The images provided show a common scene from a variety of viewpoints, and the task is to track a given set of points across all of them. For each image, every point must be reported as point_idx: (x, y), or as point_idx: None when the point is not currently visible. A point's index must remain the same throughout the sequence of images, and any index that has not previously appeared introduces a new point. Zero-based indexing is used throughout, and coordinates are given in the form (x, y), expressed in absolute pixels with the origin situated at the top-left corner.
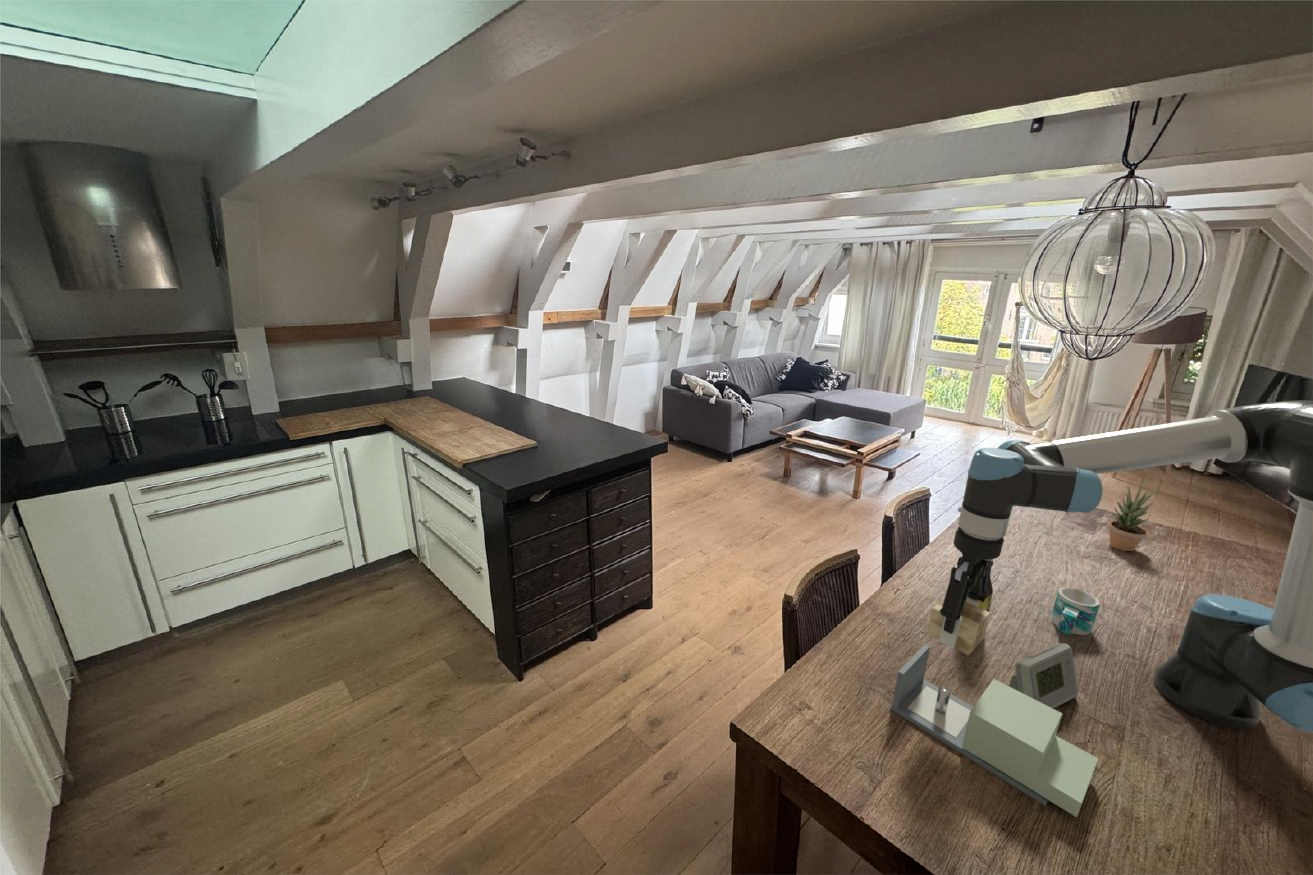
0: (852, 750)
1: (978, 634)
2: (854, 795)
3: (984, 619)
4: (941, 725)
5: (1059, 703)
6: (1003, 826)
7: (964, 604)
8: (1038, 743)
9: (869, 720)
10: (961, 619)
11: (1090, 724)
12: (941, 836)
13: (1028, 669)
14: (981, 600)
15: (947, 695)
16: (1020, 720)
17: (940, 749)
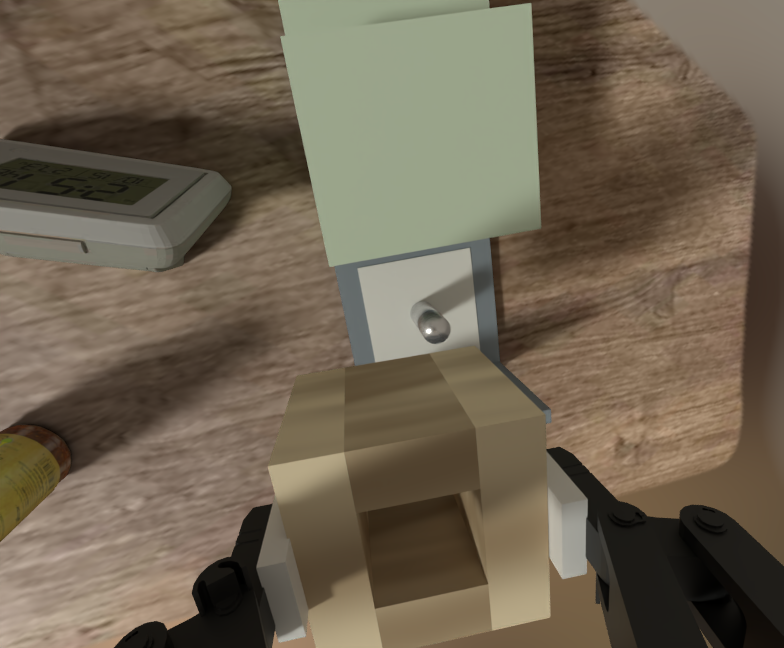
0: (646, 339)
1: (411, 389)
2: (726, 275)
3: (378, 441)
4: (464, 284)
5: (91, 153)
6: (587, 74)
7: (632, 614)
8: (503, 30)
9: (558, 370)
10: (563, 498)
11: (69, 71)
12: (693, 139)
13: (161, 221)
14: (244, 577)
15: (442, 316)
16: (450, 116)
17: (509, 252)
